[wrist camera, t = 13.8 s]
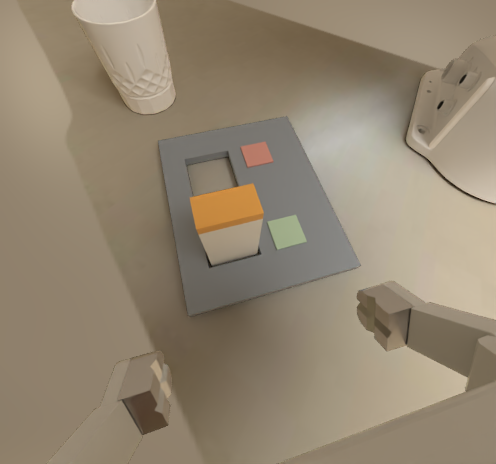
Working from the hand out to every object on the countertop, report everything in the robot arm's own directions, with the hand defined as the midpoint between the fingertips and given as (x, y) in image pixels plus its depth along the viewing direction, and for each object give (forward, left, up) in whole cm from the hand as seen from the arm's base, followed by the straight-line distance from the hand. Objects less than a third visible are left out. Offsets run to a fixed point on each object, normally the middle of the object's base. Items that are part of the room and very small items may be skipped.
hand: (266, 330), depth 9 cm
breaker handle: (-7, -4, -12) cm, 14 cm away
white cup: (-25, -20, -12) cm, 34 cm away
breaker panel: (-13, -4, -12) cm, 17 cm away
